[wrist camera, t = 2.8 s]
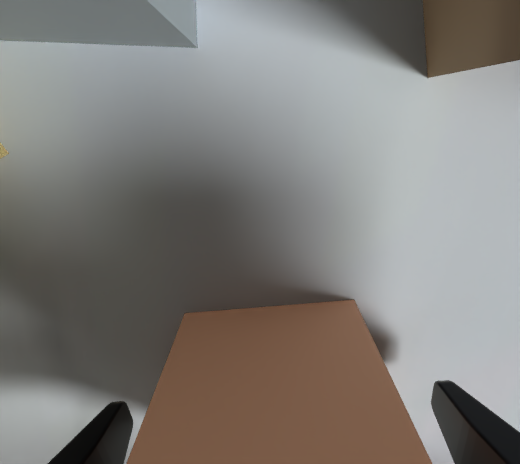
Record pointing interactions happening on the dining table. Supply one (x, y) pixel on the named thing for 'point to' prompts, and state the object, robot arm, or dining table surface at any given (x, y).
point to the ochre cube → (3, 151)
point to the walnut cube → (470, 34)
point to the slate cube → (101, 22)
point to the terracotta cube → (277, 392)
